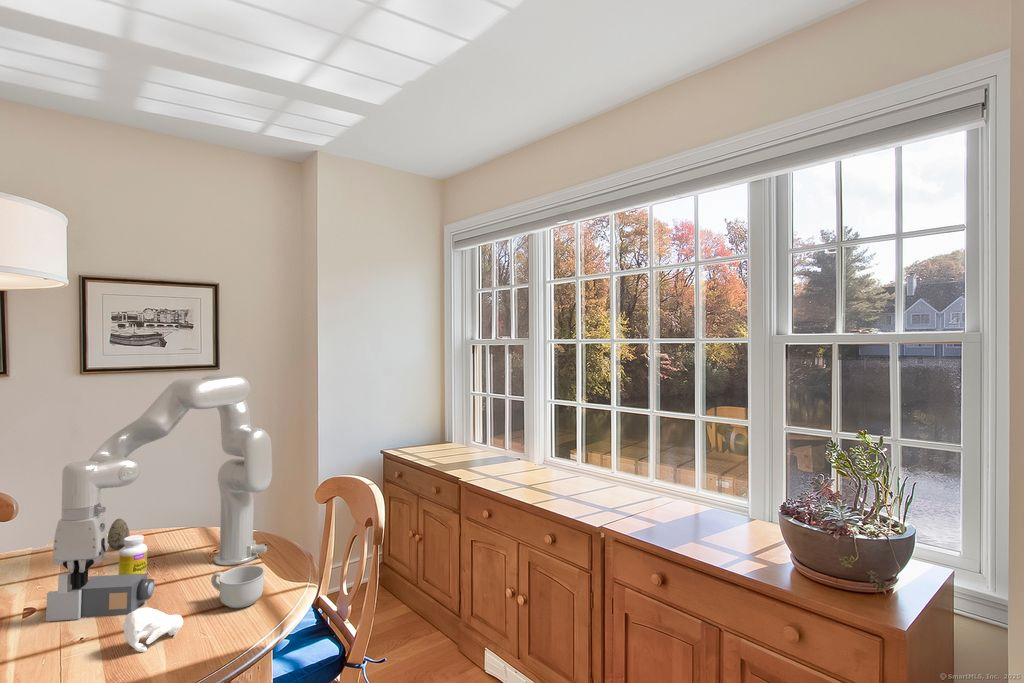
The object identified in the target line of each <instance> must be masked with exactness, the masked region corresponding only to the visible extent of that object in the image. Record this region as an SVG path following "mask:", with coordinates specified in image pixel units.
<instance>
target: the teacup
mask: <svg viewBox="0 0 1024 683" xmlns="http://www.w3.org/2000/svg"><path fill="white" fill-rule="evenodd" d="M217 577H218V580H217ZM218 581H219V582H218ZM210 582H211V585H212V587H213V588H215V590H217V591H218V592H219V598H220V601H221V603H222V604H223V605H225V606H227V607H228V608H230V609H244V608H246V607H249V606H251V605H253V604H254V603H256V601H257V600H259V599H260V598H261V596H262V594H263V592H264V584H265V569H264V567H263V566H261V565H257V564H256V565H254V564H246V565H240V566H236V567H233V568H229V569H228V570H225V571H224V572H223V571H217V572H215V573H214V574H213V575H212V576H211V581H210Z"/></svg>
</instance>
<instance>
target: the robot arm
mask: <svg viewBox="0 0 1024 683" xmlns="http://www.w3.org/2000/svg"><path fill="white" fill-rule="evenodd" d="M250 393H251V384H250V383H249V381H248V379H247V378H245V376H242V375H241V376H240V375H235V374H234V375H233V374H218V373H217V374H209V375H205V376H203V377H202V378H201V379H195V378H194V379H192V378H181V379H176V380H174V381H172V382H171V383H170V384H169V385H168V386H167V387H166V388H165V389H164V390H163V392H161V394H160V395H159V396H158V397H157V398H156V399H155V400H154V401H153V403H151V405H150V406H149V407H148V408H147V409H146V410H145V412H144V413H143V414H142V415H140V417H139V418H137V419H136V420H133V421H132V422H130V423H128V424H127V425H126V426H125V427H123V428H121V429H119V430H118V431H117V432H115V433H114V434H112V435H111V436H109V438H107V439H106V440H105V441H104V442H103V443H102V444H101V446H99V448H98V449H96V451H95V452H94V453H93V454H92V456H91V457H90V458H89V460H86V461H85V460H83V461H76V462H71V463H68V464H66V465H64V467H63V468H62V475H61V477H62V478H61V511H60V513H61V514H60V515H61V518H60V519H58V521H57V525H56V528H55V533H54V539H53V547H52V548H53V549H52V550H53V551H52V558H53V559H54V560H53V564H54V565H56V566H63V567H64V568H65V569H67V573H71V585H72V589H80V588H82V587H83V586H85V585H86V583H87V582H88V576H89V569H90V568H91V567H92V566H93V565H95V564H99V563H100V564H101V563H102V562H104V561H105V560H106V556H105V553H107V551H108V546H109V545H108V528H107V522H106V519H105V515H104V514H102V513H105V512H106V506H102V503H101V490H102V489H107V488H109V489H112V488H122V487H126V486H128V485H131V484H132V483H134V482H135V481H136V480H137V479H138V477H139V476H140V473H141V467H140V465H139V463H138V462H137V461H136V460H134V459H133V458H130V457H128V456H130V455H131V454H132V453H133V452H134V451H136V450H137V449H138V448H140V447H142V446H144V445H147V444H148V443H152V442H155V441H158V440H160V439H163V438H165V437H167V436H168V435H169V434H171V432H172V431H173V430H174V429H175V427H176V426H177V425H178V423H180V422H181V420H182V419H183V418H184V417H185V415H187V413H188V412H189V411H190V410H208V409H209V410H210V409H215V408H217V410H218V413H219V418H220V419H219V420H220V437H221V439H220V440H221V441H220V442H221V448H222V451H223V452H224V453H225V454H227V455H230V456H233V457H241V458H231V459H229V460H226V461H225V462H223V463H222V465H221V466H220V467H219V470H218V473H217V483H218V487H219V494H220V513H219V514H220V517H219V518H220V521H219V553H217V554H216V555H214V557H213V563H215V564H217V565H219V566H236V565H241V564H245V563H248V562H251V561H253V560H255V559H256V558H257V557H258V556H259V553H267V551H268V550H267V549H268V547H267V545H265V544H257V542H256V539H255V540H254V513H255V512H254V510H255V506H254V504H255V500H254V494H253V493H261V492H264V491H265V490H266V489H267V488H268V487H269V486H270V485H271V481H272V480H273V479H272V478H273V451H272V450H273V449H272V448H273V447H272V440H271V437H270V435H269V434H268V432H267V431H266V430H265V429H264V428H260V427H255V426H252V423H251V414H250V413H251V412H250V407H249V404H248V401H247V398H248V397H249V395H250Z"/></svg>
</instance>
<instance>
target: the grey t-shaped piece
mask: <svg viewBox="0 0 1024 683" xmlns="http://www.w3.org/2000/svg"><path fill="white" fill-rule="evenodd" d="M57 577H58V578H57V579H58V580H57V581H58V583H57V590H51V591H48V592H46V611H45V612H46V615H45V617H46V618H45V621H46V622H54V621H55V622H56V621H69V620H70V621H71V620H80V618H82V617H81V591H82V590H71V573H69V572H65V573H63V572H62V573H60V574H58V576H57Z"/></svg>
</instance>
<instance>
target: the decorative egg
mask: <svg viewBox="0 0 1024 683" xmlns="http://www.w3.org/2000/svg"><path fill="white" fill-rule="evenodd" d="M129 536H131V535H130V530H129V527H128V525H127V522H126V521H125V520H124V519H123V518H117V519H115V520H114V521H113V523H111V526H110V527H109V531H108V532H107V538H108V546H109V548H110V549H113V550H121V549H122V548H123V547H125V544H124V539H125V538H126V537H129Z"/></svg>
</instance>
